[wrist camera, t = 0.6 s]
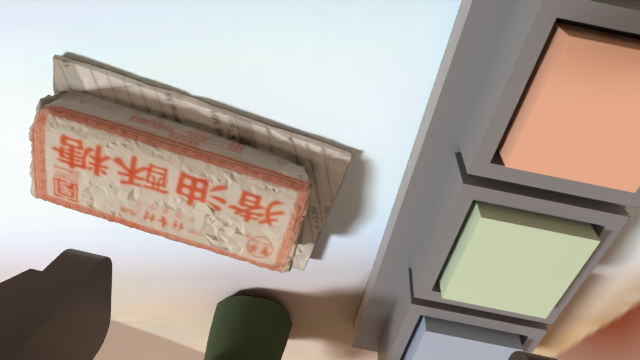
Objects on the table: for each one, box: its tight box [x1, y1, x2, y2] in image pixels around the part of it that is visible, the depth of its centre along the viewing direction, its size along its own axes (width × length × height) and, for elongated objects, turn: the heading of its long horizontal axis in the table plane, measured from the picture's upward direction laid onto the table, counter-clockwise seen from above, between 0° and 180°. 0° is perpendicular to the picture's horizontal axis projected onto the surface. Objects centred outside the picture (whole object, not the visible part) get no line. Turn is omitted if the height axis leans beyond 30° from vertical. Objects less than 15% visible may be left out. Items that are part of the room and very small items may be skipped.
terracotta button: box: [497, 22, 640, 193], centre depth 20 cm, size 6×6×2 cm
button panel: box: [352, 0, 640, 360], centre depth 27 cm, size 28×12×5 cm, turn 170°
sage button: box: [438, 200, 601, 319], centre depth 25 cm, size 6×6×2 cm
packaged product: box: [29, 55, 352, 273], centre depth 28 cm, size 18×5×10 cm
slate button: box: [400, 315, 523, 360], centre depth 30 cm, size 6×6×2 cm
